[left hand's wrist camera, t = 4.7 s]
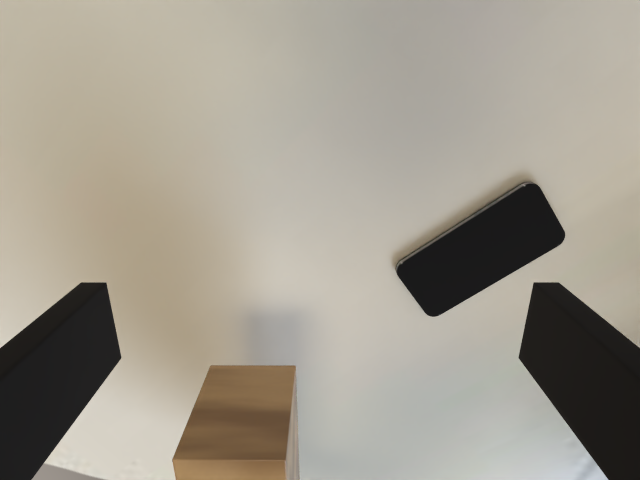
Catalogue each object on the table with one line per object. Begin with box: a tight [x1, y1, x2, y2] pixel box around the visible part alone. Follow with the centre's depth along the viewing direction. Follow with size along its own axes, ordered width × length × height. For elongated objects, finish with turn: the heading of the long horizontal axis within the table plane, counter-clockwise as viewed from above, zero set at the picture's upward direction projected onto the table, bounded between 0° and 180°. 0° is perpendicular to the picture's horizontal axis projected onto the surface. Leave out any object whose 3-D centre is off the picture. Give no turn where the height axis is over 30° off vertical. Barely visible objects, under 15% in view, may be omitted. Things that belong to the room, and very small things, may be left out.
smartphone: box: [396, 182, 565, 317], centre depth 39 cm, size 7×1×15 cm
